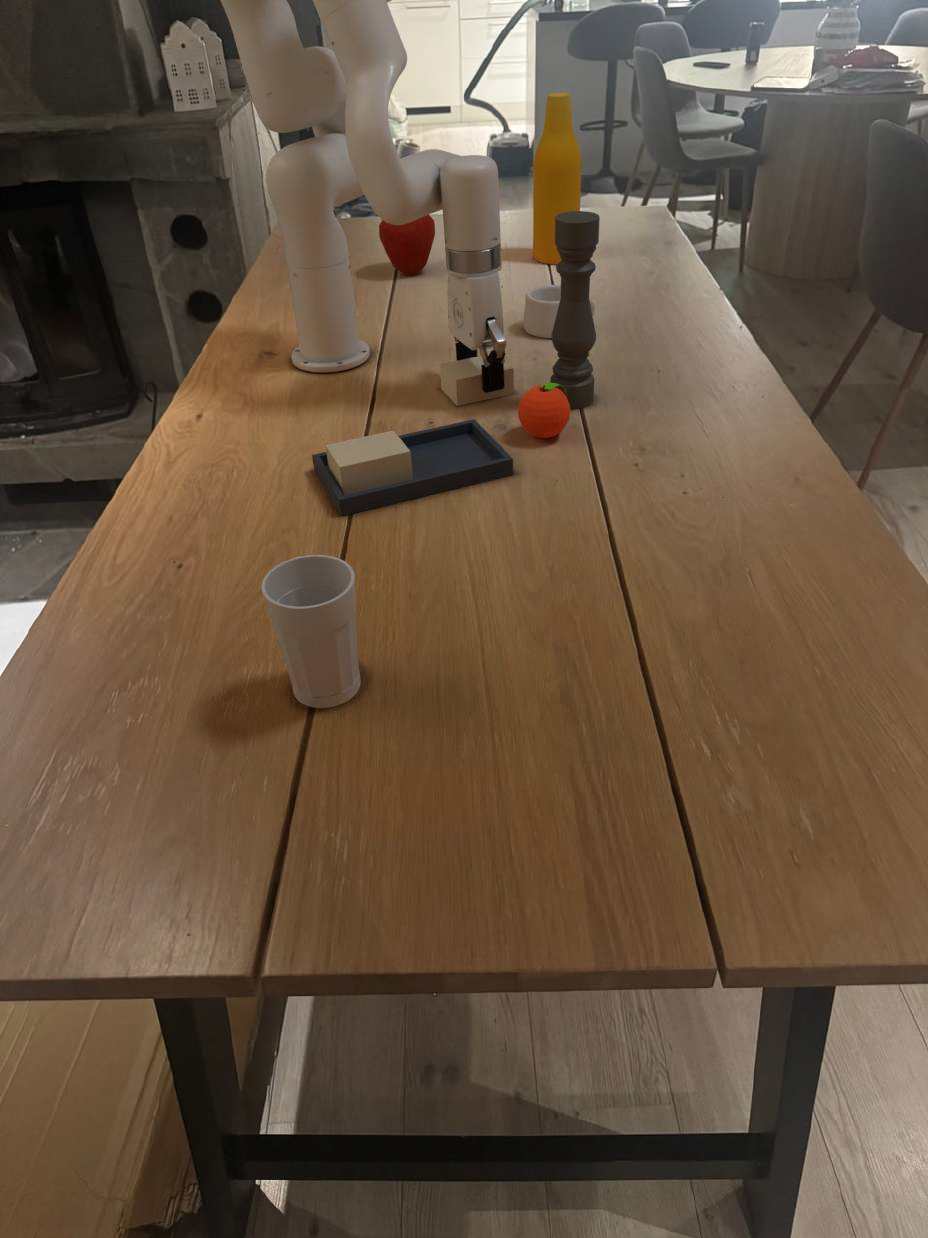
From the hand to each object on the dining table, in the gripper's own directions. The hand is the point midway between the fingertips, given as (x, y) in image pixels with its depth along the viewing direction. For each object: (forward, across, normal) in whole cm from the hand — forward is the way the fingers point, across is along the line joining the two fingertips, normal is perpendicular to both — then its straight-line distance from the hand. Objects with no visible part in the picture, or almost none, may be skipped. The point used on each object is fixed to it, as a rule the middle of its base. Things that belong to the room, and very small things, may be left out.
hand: (480, 378), depth 136 cm
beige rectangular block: (+2, 0, 0) cm, 2 cm away
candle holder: (+3, +8, +11) cm, 14 cm away
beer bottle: (+2, -52, +39) cm, 65 cm away
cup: (+3, +54, -38) cm, 66 cm away
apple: (+1, -58, +10) cm, 59 cm away
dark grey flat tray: (+2, +18, -17) cm, 26 cm away
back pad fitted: (+1, +18, -23) cm, 29 cm away
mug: (+2, -18, +22) cm, 28 cm away
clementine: (+3, +16, +3) cm, 17 cm away
